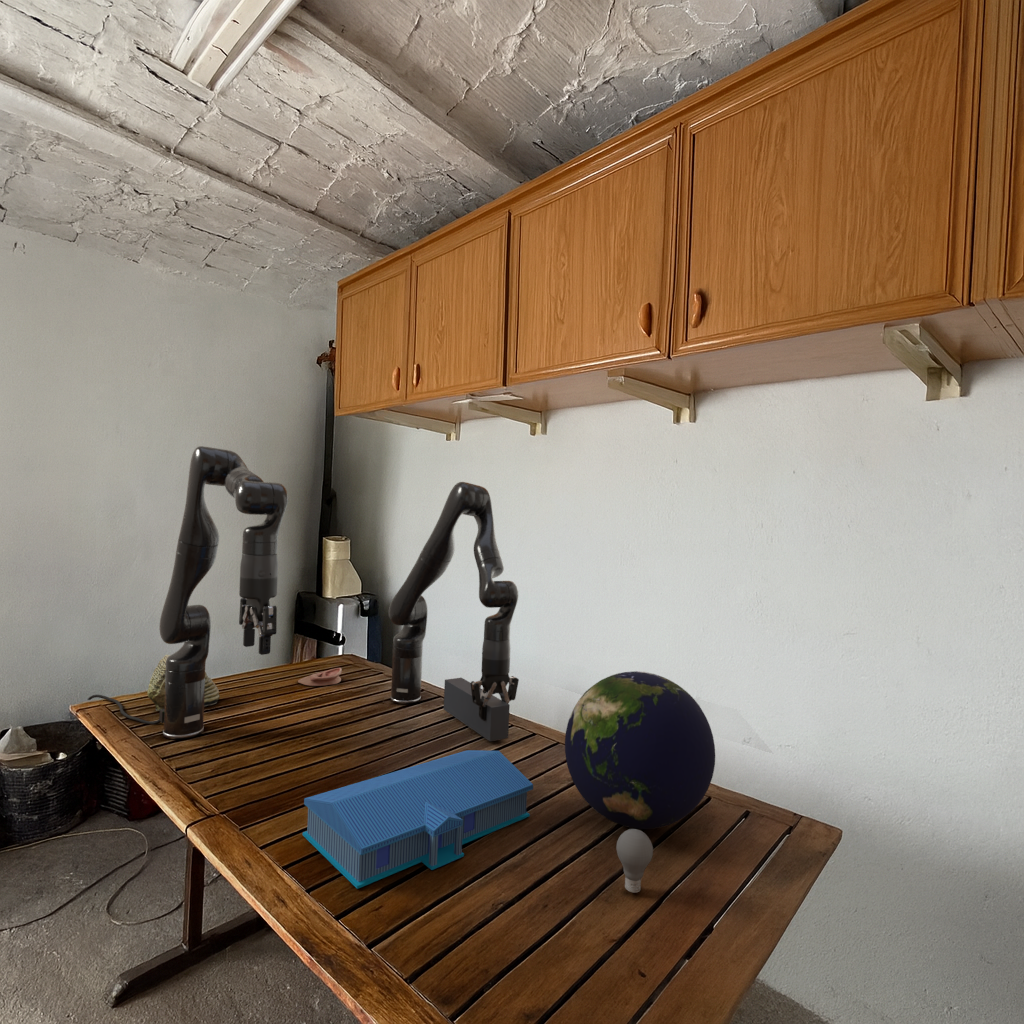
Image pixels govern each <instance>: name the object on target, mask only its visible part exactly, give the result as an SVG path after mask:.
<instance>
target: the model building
mask: <svg viewBox="0 0 1024 1024" xmlns="http://www.w3.org/2000/svg"><path fill="white" fill-rule="evenodd" d="M532 790H534V783H532V782H531V781H530V780H529V779H528V778H527V776H525V775H524V774H523V773H522V772H521V771H520V770H519V769H518V768H517V767H516V766H515V765H514V764H513V763H512V762H511V761H510V760H509V758H507V757H506V756H505V755H504V754H503V753H502V752H501V751H500V750H484V749H483V750H481V749H479V750H477V749H474V750H473V749H470V750H469V749H467V750H463V751H460V752H456V753H452V754H450V755H446V756H443V757H439V758H436V759H433V760H429V761H427V762H423V763H420V764H416V765H413V766H410V767H406V768H402V769H399V770H396V771H392V772H389V773H386V774H382V775H379V776H376V777H372V778H369V779H365V780H362V781H359V782H355V783H352V784H348V785H346V786H342V787H338V788H336V789H332V790H328V791H325V792H321V793H318V794H315V795H312V796H308V797H304V798H303V805H304V806H305V807H307V830H305V831H302V836H303V837H304V838H305V839H306V840H307V841H308V842H309V843H310V844H311V845H312V846H313V847H314V848H315V849H316V850H317V851H318V852H319V853H320V854H321V855H322V856H323V857H324V858H325V859H326V860H327V861H328V862H329V863H330V864H331V865H332V866H333V867H334V868H335V869H336V870H337V871H338V872H339V873H340V874H341V875H343V877H345V879H346V880H347V881H348V882H350V883H351V885H352V886H354V887H355V888H356V890H359V889H361V888H364V887H365V886H368V885H371V884H373V883H376V882H378V881H380V880H381V879H385V878H387V877H390V876H391V875H394V874H396V873H400V872H401V871H403V870H406V869H408V868H411V867H413V866H415V865H418V864H420V863H422V865H424V866H426V867H427V868H428V869H429V870H431V871H434V870H436V869H438V868H440V867H443V866H445V865H447V864H450V863H452V862H455V861H456V860H459V859H461V858H463V857H465V853H464V852H463V845H465V844H468V843H471V842H472V841H475V840H477V839H480V838H481V837H484V836H486V835H489V834H492V833H493V832H496V831H498V830H501V829H503V828H505V827H508V826H510V825H513V824H515V823H517V822H520V821H522V820H525V819H527V818H529V817H530V816H531V814H530V813H529V812H528V811H527V801H528V798H527V797H528V792H530V791H532Z"/></svg>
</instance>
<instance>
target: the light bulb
mask: <svg viewBox="0 0 1024 1024" xmlns="http://www.w3.org/2000/svg"><path fill="white" fill-rule="evenodd" d="M615 849H616V854H617V857H618V859H619V861H620V863H621V865H622V867H623V873H624V874H623V875H624V876H625V878H624V888H625V890H627V891H628V892H630V893H634V894H635V893H639V892H640V891H641V889H642V887H641V886H642V879H643V877H644V875H645V871H646V868H647V867H648V866H649V864H650V863H651V861H652V859H653V855H654V847H653V843H652V841H651V838H649V836H648V835H647V834H646V833H645V832H643V831H642V830H641V829H636V828H629V829H627V830H625V831H623V832H622V833H621V834H620V835H619V837H618V839H617V841H616V847H615Z"/></svg>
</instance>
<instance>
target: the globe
mask: <svg viewBox="0 0 1024 1024" xmlns="http://www.w3.org/2000/svg"><path fill="white" fill-rule="evenodd" d="M564 735H565V736H564V754H565V761H566V766H567V769H568V773H569V775H570V777H571V780H572V783H573V785H574V786H575V788H576V790H577V791H578V793H579V794H580V796H581V797H582V798H583V799H584V801H585V802H586V803H587V804H588V805H589V806H590V807H591V809H593V810H594V811H596V812H597V813H598V814H600V815H601V816H603V817H604V818H605V819H607V820H608V821H611V822H613V823H615V824H617V825H621V826H623V827H627V828H629V829H637V830H653V829H659V828H664V827H667V826H670V825H672V824H674V823H676V822H677V823H678V822H679V821H681V820H682V819H684V818H685V817H687V816H688V815H689V814H690V813H692V812H693V811H694V810H695V809H696V808H697V807H698V805H700V803H701V801H702V800H703V799H704V797H705V795H706V794H707V792H708V790H709V788H710V785H711V782H712V779H713V777H714V771H715V767H716V749H715V748H716V745H715V739H714V735H713V731H712V728H711V726H710V723H709V720H708V719H707V717H706V715H705V713H704V711H703V709H702V708H701V706H700V704H699V703H698V702H697V700H696V699H695V698H694V697H693V696H692V695H691V694H690V693H689V692H688V691H687V690H685V689H684V688H683V687H681V686H680V685H678V684H677V683H675V682H674V681H672V680H671V679H669V678H666V677H664V676H661V675H659V674H656V673H652V672H647V671H640V670H636V671H623V672H617V673H615V674H612V675H609V676H606V677H604V678H602V679H601V680H599V681H597V682H596V683H594V684H593V685H592V686H591V687H589V688H588V689H587V690H585V692H584V693H583V694H582V695H581V697H580V698H579V699H578V701H577V702H576V703H575V706H574V707H573V708H572V711H571V713H570V715H569V719H568V721H567V724H566V729H565V734H564Z"/></svg>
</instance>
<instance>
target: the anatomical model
mask: <svg viewBox="0 0 1024 1024" xmlns="http://www.w3.org/2000/svg"><path fill="white" fill-rule="evenodd" d="M342 671H343V669H342V667H335V668H331V669H328V670H324V671H320V672H317V673H313V674H310V675H308V676H304V677H302V678H300V679H298V680H297V683H299V684H301V685H305V686H309V687H316V686H317V687H321V686H331V685H336V684H339V683H340V682H341V681H342V678H341V676H340V675H342Z"/></svg>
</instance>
